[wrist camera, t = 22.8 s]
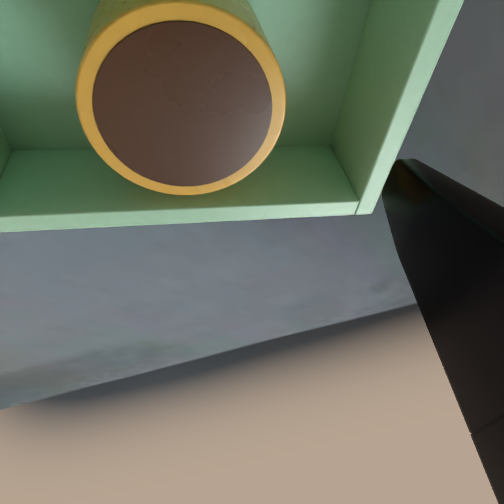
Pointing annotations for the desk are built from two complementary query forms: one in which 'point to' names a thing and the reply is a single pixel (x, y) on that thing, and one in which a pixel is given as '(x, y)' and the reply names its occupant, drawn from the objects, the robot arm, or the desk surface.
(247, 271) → the desk surface
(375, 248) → the desk surface
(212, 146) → the yellow cup with coffee
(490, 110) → the desk surface
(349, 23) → the mint green lidded box
